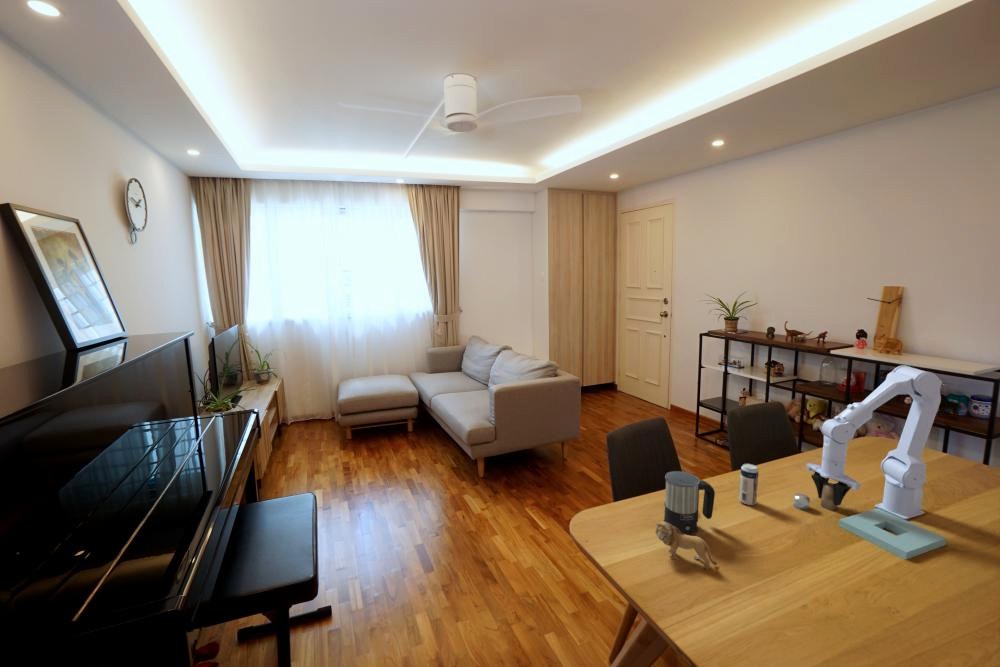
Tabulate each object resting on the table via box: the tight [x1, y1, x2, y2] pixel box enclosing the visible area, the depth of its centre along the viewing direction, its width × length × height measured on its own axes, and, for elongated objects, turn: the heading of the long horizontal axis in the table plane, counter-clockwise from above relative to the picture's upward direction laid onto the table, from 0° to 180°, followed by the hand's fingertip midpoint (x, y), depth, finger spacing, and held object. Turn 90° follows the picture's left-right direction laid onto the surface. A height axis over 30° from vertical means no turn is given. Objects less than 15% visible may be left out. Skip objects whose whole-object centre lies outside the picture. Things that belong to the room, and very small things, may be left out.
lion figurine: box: [655, 520, 718, 570], centre depth 112 cm, size 15×5×9 cm, turn 69°
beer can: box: [738, 463, 760, 506], centre depth 139 cm, size 5×5×12 cm
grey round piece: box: [792, 492, 811, 511], centre depth 137 cm, size 4×4×4 cm
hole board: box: [838, 507, 947, 560], centre depth 122 cm, size 17×16×2 cm
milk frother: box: [663, 470, 716, 536], centre depth 130 cm, size 14×16×15 cm
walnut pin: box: [820, 482, 838, 511], centre depth 136 cm, size 4×4×7 cm
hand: (829, 501), depth 137 cm, fingers closed on walnut pin, 4 cm apart
